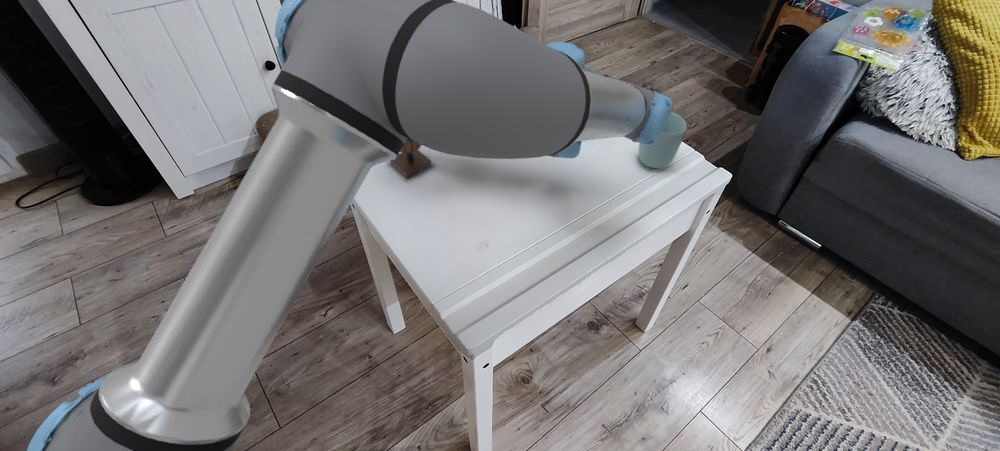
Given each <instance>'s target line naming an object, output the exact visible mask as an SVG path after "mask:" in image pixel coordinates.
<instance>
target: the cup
mask: <svg viewBox="0 0 1000 451" xmlns="http://www.w3.org/2000/svg"><path fill="white" fill-rule="evenodd" d="M686 131H687V122H686V121H685V119H684V118H683V117H682V116H681V115H679V114H677V113H675V112H671V115H670V118H669V120H668V122H667V125H666V127H665V129H664V131H663V132H662V134H661V136H660V137H659V139H658V140H657V141H656V142H655V143H654V144H653V145H650V146H648V145H644V144H641V143H638V148H637V150H638V157H639V161H640V162H641V163H642V164H643V165H645V166H646V167H648V168H652V169H662V168H665V167H667V166H669V165H670V164H671V163H672V162H673V160H674V159H675V157H676V155H677V153H678V151H679V149H680V146H681V144H682V141H683V139H684V136H685V134H686Z"/></svg>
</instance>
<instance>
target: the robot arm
mask: <svg viewBox="0 0 1000 451" xmlns="http://www.w3.org/2000/svg"><path fill="white" fill-rule="evenodd" d="M274 27H275V28H274V29H275V30H274V37H275V38H276V40H277V43H278V45H277V46H275V50H276V55H277V57H278V59H279V62H280V64H281V66H282V67H281V69H280V71H279V73H278V74H277V77H276V79H275V80H274V82H273V84H272V85H271V87H270V89H271V92H272V95H273V98H274V101H275V104H276V107H277V114H278V116H277V118H276V120H275V122H274V124H273V125H272V128H271V129H270V130H269V132H268V134H267V136H266V138H265V140H264V142H263V143H262V145H261V147H260V148H259V150H258V152H257V153H256V155H255V157H254V158H253V161H252V162H251V164H250V166H249V167H248V169H247V171H246V172H245V175H244V177H243V178H242V180H241V182H240V183H239V185H238V187H237V189H236V190H235V191H234V194H233V195H232V197H231V199H230V201H229V202H228V204H227V206H226V208H225V210H224V211H223V212H222V214H221V216H220V218H219V220H218V222H217V223H216V225H215V227H214V229H213V231H212V232H211V234H210V236H209V238H208V239H207V241H206V243H205V244H204V246H203V248H202V249H201V251H200V253H199V255H198V257H197V258H196V261H195V262H194V264H193V265H192V268H191V269H190V271H188V272H189V273H188V274H187V276H186V277H185V280H183V281H184V282H183V283H182V285H181V287H180V288H179V290H178V292H177V294H176V295H175V296H174V299H173V301H172V302H171V304H170V306H169V308H168V309H167V311H166V312H165V314H164V316H163V318H162V319H161V322H160V323H159V324H158V327H157V329H156V330H155V332H154V333H153V335H152V337H151V339H150V341H149V342H148V344H147V346H146V347H145V349H144V351H143V353H142V354H141V356H140V358H139V360H135V361H132V362H129V363H125V364H123V365H120V366H118V367H116V368H115V369H113V370H112V371H110V372H109V373H108V374H107V375H106V377H103V378H100V379H98V380H96V381H94V382H92V383H90V384H88V385H86V386H84V387H83V388H82V389H80V390H78V392H77V393H78V397H77V398H76V399H74V400H72V401H64V402H62V403H61V404H60V405H58V406H57V407H56V408H55V409H54V410H53V411H52V412H51V413H50V414H48V416H47V417H46V419H45V420H44V421H43V422H42V423H41V424H40V426H38V428H37V430H36V431H35V433H34V435H33V436H32V438H31V440H30V442H29V444H28V446H27V449H26V451H234V447H235V445H236V443H237V441H238V439H239V438H240V436H241V434H242V432H243V430H244V428H245V427H246V425H247V423H248V421H249V419H250V416H251V406H250V402H249V400H248V398H247V396H246V393H245V391H246V390H247V388H248V386H249V384H250V382H251V381H252V379H253V377H254V375H255V374H256V372H257V370H258V369H259V367H260V365H261V364H262V361H263V359H264V358H265V356H266V354H267V353H268V351H269V349H270V347H271V345H272V344H273V342H274V340H275V338H276V337H277V334H279V331H280V330H281V328H282V326H283V324H284V323H285V321H286V319H287V318H288V316H289V313H290V312H291V311H292V308H293V306H294V305H295V303H296V301H297V299H298V298H299V295H300V294H301V292H302V290H303V289H304V287H305V285H306V284H307V282H308V280H309V279H310V276H311V274H312V273H313V271H314V269H315V267H316V266H317V264H318V262H319V260H320V258H321V257H322V255H323V253H324V252H325V250H326V249H327V246H328V245H329V243H330V241H331V239H332V237H333V236H334V234H335V232H336V231H337V228H338V227H339V225H340V223H341V222H342V220H343V218H344V216H345V214H346V213H347V211H348V209H349V207H350V206H351V204H352V202H353V200H354V198H355V196H356V195H357V194H358V192H359V190H360V188H361V186H362V184H363V183H364V181H365V179H366V177H367V176H368V174H369V172H370V170H371V169H372V168H373V167H375V166H376V165H380V164H383V163H387V162H390V161H391V160H394V159H396V157H397V156H398V154H400V153H401V152H400V150H401V149H402V147H403V145H404V143H405V142H406V140H408V141H414V142H416V143H419V144H421V145H422V147H426V148H428V149H430V150H433V151H436V152H440V153H443V154H446V155H452V156H459V157H464V158H465V157H466V158H467V157H468V158H473V159H492V160H493V159H494V160H520V159H534V158H535V159H536V158H542V157H552V158H561V159H575V158H577V157H578V156H579V155H580V151H581V146H582V141H583V142H584V141H593V140H602V139H610V138H611V139H612V138H626V139H628V140H630V141H632V142H633V143H638V144H639V143H641V144H644V145H648V146H650V145H653V144H654V143H655V142H656V141H657V140H658V139H659V137H660V136H661V134H662V132H663V131H664V129H665V127H666V125H667V122H668V120H669V118H670V115H671V112H672V111H673V107H674V103H673V100H672V99H671V98H670V97H669V96H666V95H663V94H661V93H659V92H658V91H655V90H650V89H647V88H645V87H642V86H639V85H636V84H634V83H631V82H628V81H625V80H622V79H618V78H615V77H613V76H611V75H608V74H607V73H603V72H600V71H598V70H595V69H592V68H589V67H586V66H585V65H586V60H585V58H586V57H585V53H584V51H583V50H582V49H581V48H579V47H578V45H575V44H573V43H571V42H565V41H564V42H563V41H556V42H550V43H548V44H547V43H546V44H545V43H543V42H542V41H540V40H538V39H536V38H534V37H533V36H531V35H529V34H528V33H525V32H524V31H522V30H520V29H519V28H517V27H515V26H513V25H512V24H509V23H508V22H506V21H504V20H502V18H501V19H500V18H498V17H497V16H495V15H493V14H491V13H489V12H487V11H485V10H483V9H481V8H479V7H478V8H477V7H475V6H472V5H469V4H467V3H464V2H458V1H456V0H283V2H282V4H281V6H280V9H279V10H278V14H277V18H276V21H275V26H274ZM672 113H673V112H672Z"/></svg>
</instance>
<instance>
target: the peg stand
mask: <svg viewBox="0 0 1000 451" xmlns="http://www.w3.org/2000/svg"><path fill="white" fill-rule="evenodd" d="M389 162H390V165H391V166H392V167H393V168H394V169H395V170H397V171H398V173H400V174H401V175H402V176H403V177H404V178H406V180H408V179H409V178H411V177H414V176H416V175H417V174H420V173H422V172H424V171H426V170H427V169H429V168H431V167H432V160H430V158H428V157H427V156H426V155H424V154H423V153H422V152H421V151H420V150H417V151H415V152H413V151H412V152H411V153H406V152H405V153H402V152H399V154H398V156H397V157H396V159H394V160H391V161H389Z"/></svg>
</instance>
